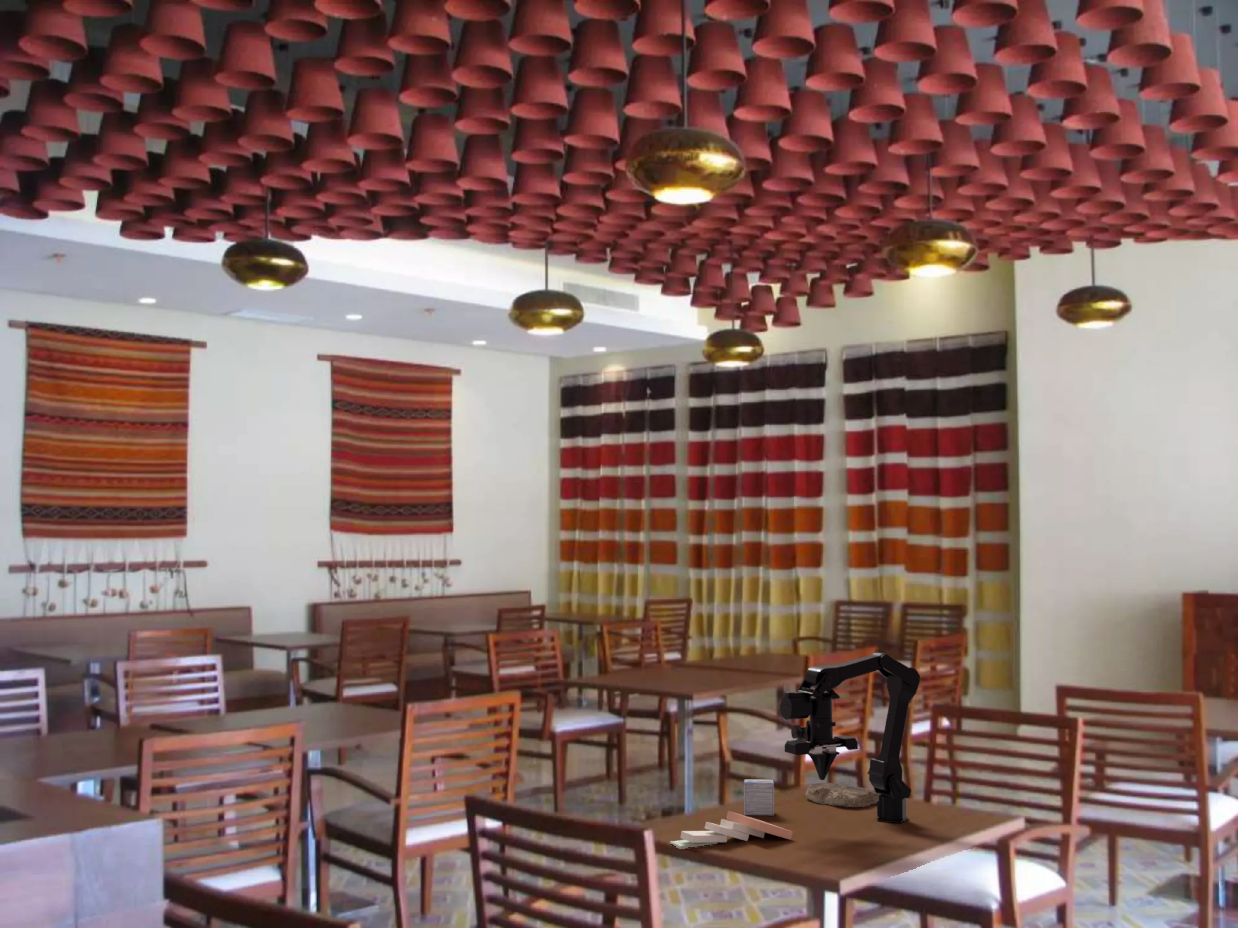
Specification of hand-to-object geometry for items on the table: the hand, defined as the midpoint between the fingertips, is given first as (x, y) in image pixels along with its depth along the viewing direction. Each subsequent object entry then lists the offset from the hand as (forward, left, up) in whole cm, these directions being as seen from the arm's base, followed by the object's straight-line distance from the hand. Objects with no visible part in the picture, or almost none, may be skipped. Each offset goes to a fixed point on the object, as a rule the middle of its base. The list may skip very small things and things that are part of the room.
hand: (822, 779), depth 315 cm
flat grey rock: (+8, -32, -12) cm, 35 cm away
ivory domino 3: (+11, +16, -11) cm, 22 cm away
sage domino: (+18, +27, -12) cm, 34 cm away
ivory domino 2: (+13, +21, -11) cm, 27 cm away
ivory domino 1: (+16, +26, -11) cm, 32 cm away
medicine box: (+20, -7, -12) cm, 25 cm away
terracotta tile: (+8, +12, -11) cm, 18 cm away
